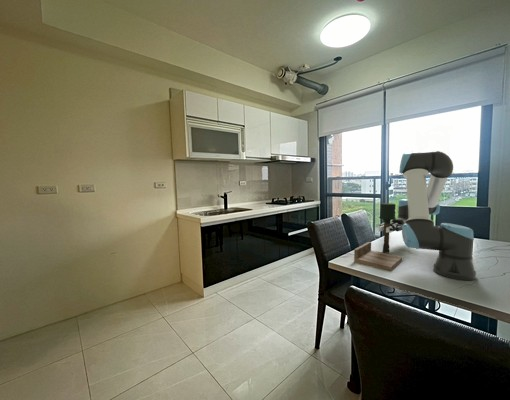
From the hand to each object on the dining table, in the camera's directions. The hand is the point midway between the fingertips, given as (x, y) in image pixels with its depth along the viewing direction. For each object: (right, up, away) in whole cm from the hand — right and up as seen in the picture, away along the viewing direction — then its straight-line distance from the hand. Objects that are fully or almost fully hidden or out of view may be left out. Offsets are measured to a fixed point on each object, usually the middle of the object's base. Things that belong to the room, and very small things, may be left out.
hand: (383, 229), depth 134 cm
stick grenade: (+4, -15, +5) cm, 16 cm away
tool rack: (-8, -16, -9) cm, 20 cm away
